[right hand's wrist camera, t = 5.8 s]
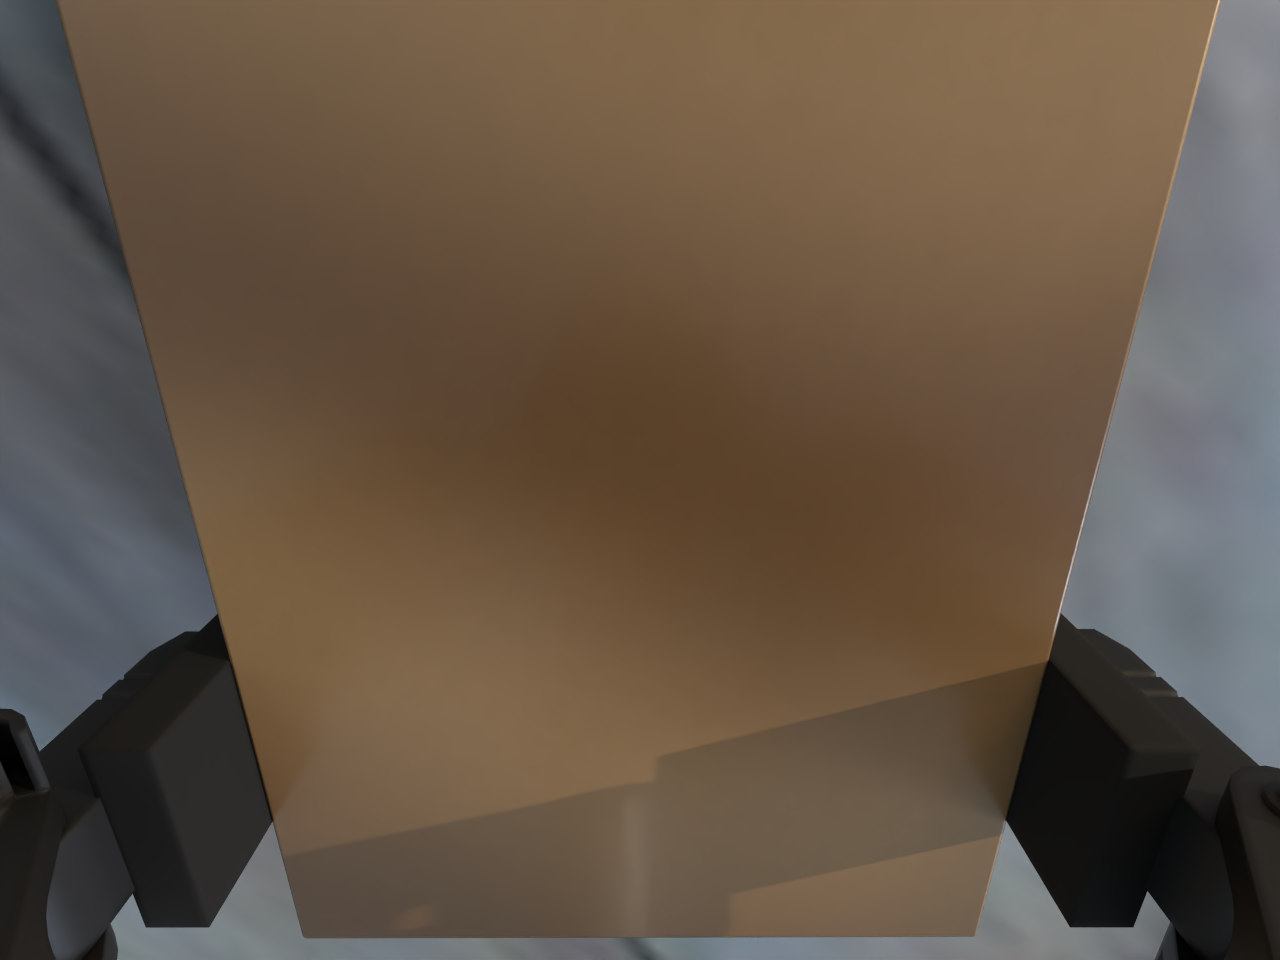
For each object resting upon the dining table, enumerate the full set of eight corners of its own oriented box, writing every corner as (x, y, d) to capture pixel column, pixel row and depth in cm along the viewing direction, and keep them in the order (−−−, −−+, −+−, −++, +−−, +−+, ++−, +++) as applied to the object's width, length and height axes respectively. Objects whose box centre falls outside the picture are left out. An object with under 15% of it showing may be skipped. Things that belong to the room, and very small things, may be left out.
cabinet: (342, -247, 12) (-262, -1176, 4) (933, -246, 12) (1535, -1173, 4) (447, 623, 18) (301, 939, 10) (830, 622, 18) (977, 938, 10)
